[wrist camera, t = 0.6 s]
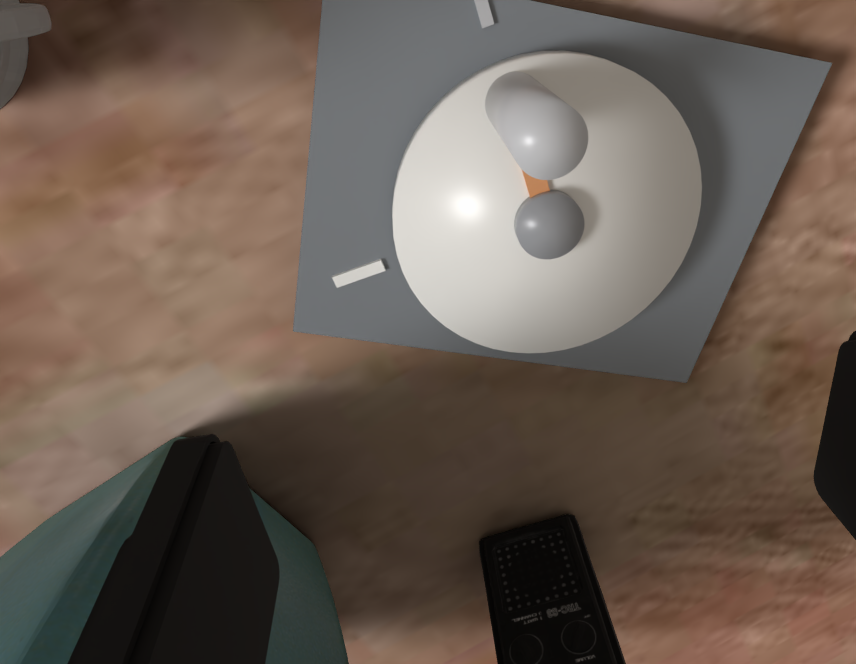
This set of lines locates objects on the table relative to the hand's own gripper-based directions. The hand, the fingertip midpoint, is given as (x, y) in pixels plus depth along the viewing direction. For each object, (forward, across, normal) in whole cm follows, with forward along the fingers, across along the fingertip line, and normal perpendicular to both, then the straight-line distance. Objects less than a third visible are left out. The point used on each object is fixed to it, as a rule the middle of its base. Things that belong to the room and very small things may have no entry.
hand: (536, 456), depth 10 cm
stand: (+23, -4, +4) cm, 24 cm away
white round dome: (+21, -4, +4) cm, 22 cm away
